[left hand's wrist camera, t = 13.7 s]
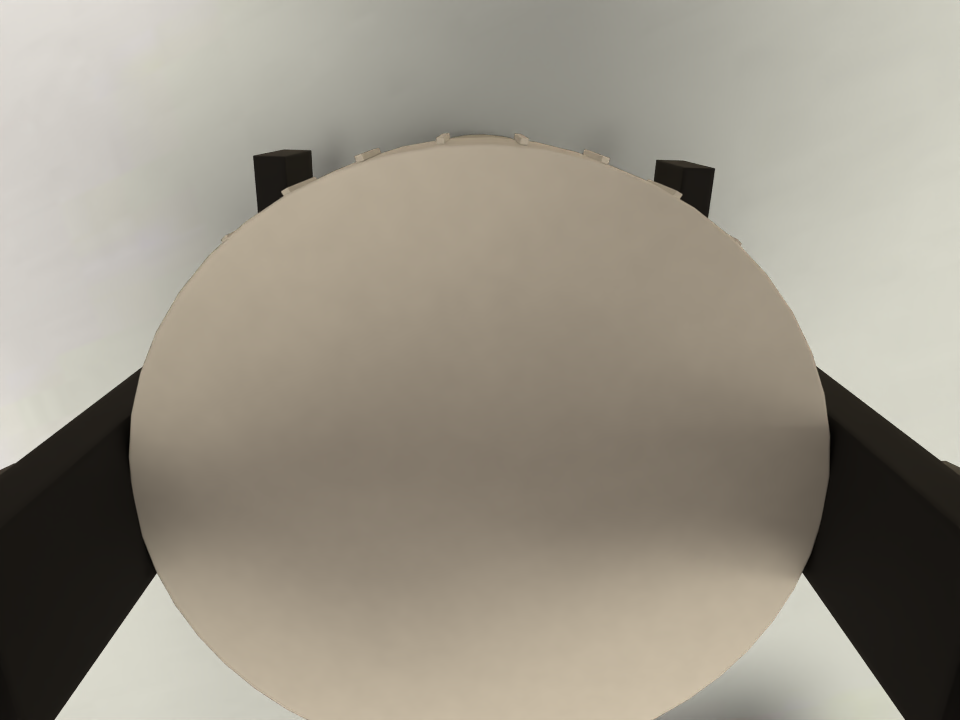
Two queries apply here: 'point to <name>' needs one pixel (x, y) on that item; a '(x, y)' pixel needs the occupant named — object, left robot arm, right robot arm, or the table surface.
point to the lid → (479, 442)
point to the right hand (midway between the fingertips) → (484, 158)
